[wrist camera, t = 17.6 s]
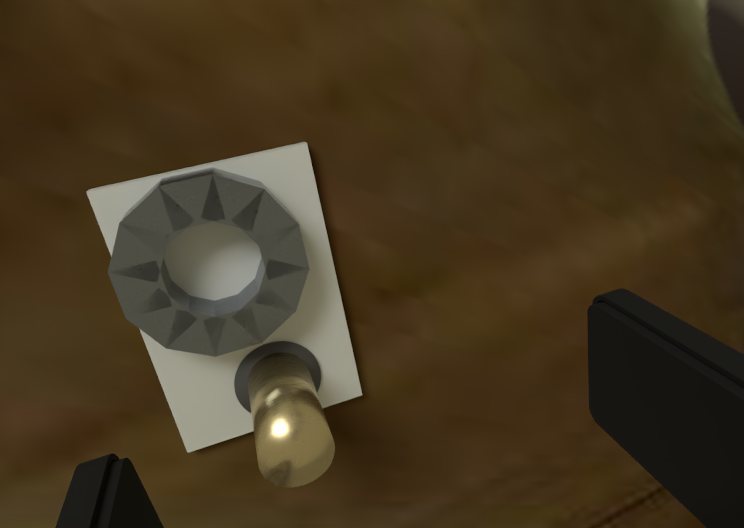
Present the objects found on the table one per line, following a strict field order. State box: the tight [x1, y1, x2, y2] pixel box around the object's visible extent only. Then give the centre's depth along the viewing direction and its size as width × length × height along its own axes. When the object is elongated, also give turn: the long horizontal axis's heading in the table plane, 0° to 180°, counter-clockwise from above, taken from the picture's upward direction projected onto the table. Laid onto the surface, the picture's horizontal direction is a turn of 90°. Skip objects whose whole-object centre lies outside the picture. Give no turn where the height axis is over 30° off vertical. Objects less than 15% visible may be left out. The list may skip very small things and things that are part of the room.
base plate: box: [86, 142, 362, 453], centre depth 40 cm, size 15×22×1 cm
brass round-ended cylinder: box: [248, 352, 335, 487], centre depth 38 cm, size 5×5×10 cm
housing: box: [108, 167, 310, 357], centre depth 37 cm, size 13×13×3 cm
